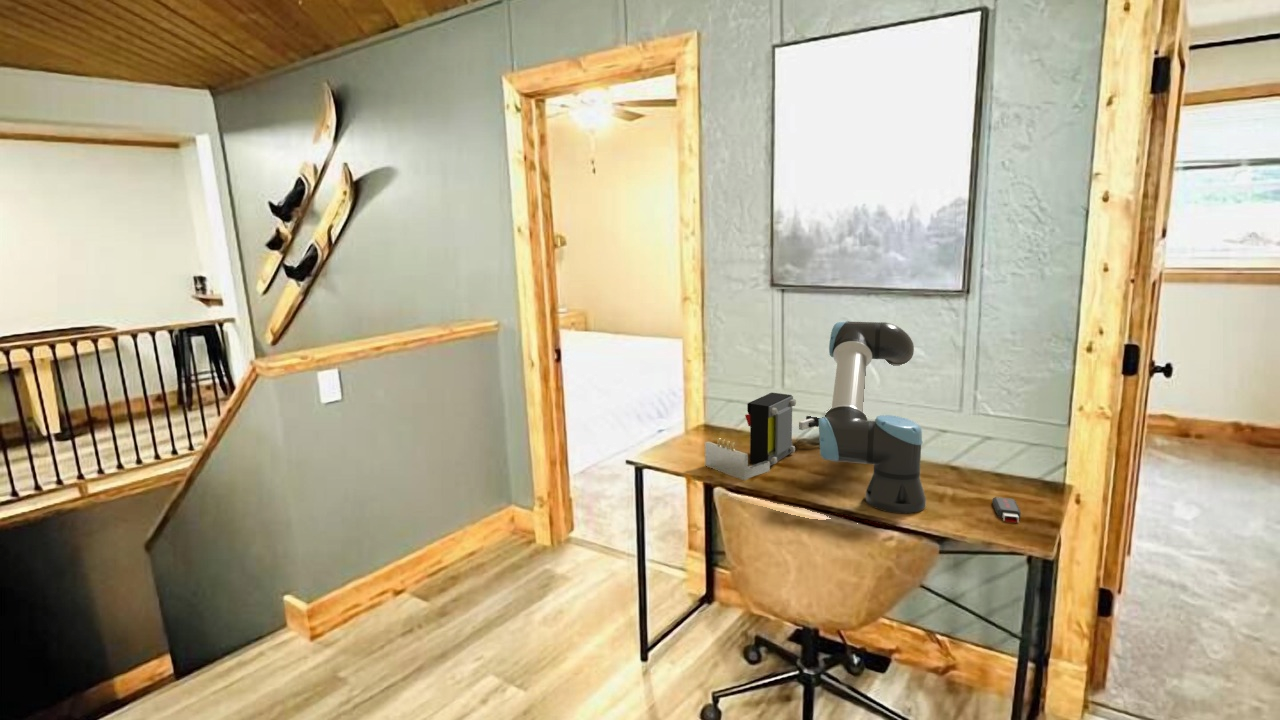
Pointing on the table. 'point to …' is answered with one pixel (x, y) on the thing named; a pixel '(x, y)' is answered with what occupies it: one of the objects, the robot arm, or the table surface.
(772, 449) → the electrical component
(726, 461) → the mounting bracket
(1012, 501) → the usb drive
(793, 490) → the table surface
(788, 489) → the table surface
